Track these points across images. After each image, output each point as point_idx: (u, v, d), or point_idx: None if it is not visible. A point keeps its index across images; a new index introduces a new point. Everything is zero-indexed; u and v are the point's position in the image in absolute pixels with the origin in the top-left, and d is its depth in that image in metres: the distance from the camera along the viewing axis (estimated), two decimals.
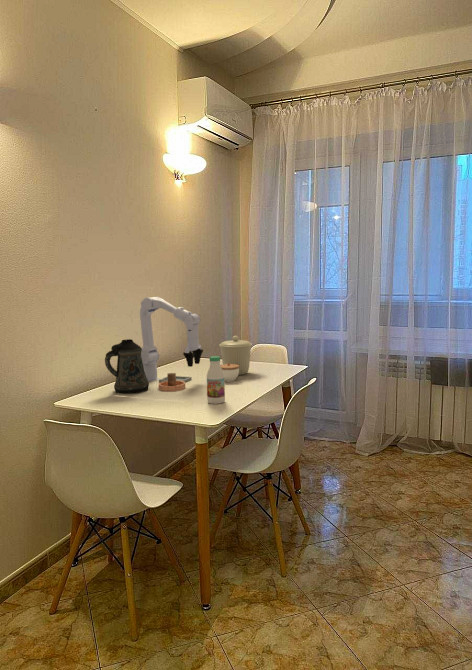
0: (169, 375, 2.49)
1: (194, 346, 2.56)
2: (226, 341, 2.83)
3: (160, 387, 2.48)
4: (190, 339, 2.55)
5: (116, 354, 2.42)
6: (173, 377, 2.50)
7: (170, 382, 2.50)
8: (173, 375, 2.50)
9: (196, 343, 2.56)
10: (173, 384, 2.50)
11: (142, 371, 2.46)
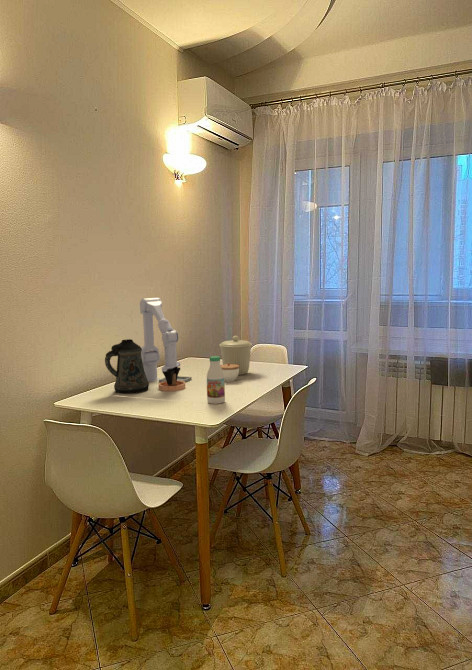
0: None
1: (172, 364, 2.48)
2: (226, 341, 2.83)
3: (160, 387, 2.48)
4: (168, 357, 2.47)
5: (116, 354, 2.42)
6: (173, 377, 2.50)
7: None
8: (173, 375, 2.50)
9: (174, 361, 2.48)
10: (173, 384, 2.50)
11: (142, 371, 2.46)
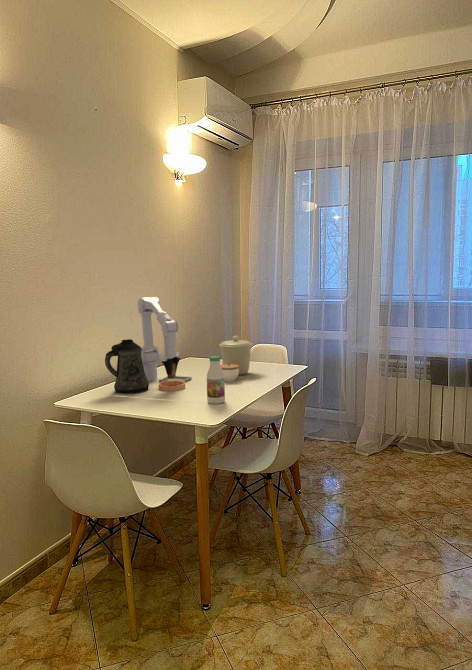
0: None
1: (171, 354, 2.47)
2: (226, 341, 2.83)
3: (160, 387, 2.48)
4: (167, 347, 2.47)
5: (116, 354, 2.42)
6: (173, 367, 2.49)
7: None
8: (173, 365, 2.49)
9: (173, 351, 2.48)
10: (173, 374, 2.49)
11: (142, 371, 2.46)
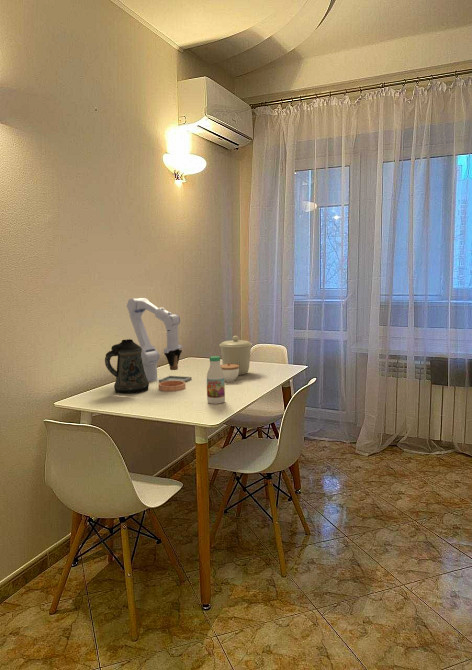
0: None
1: (173, 346, 2.58)
2: (226, 341, 2.83)
3: (160, 387, 2.48)
4: (169, 339, 2.57)
5: (116, 354, 2.42)
6: (175, 359, 2.59)
7: None
8: (175, 357, 2.59)
9: (175, 343, 2.58)
10: (175, 366, 2.60)
11: (142, 371, 2.46)
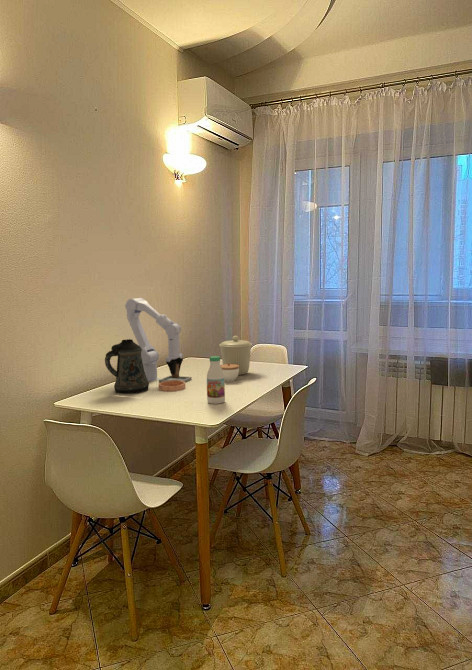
0: None
1: (175, 355, 2.63)
2: (226, 341, 2.83)
3: (160, 387, 2.48)
4: (171, 348, 2.62)
5: (116, 354, 2.42)
6: (176, 367, 2.64)
7: None
8: (176, 365, 2.64)
9: (177, 352, 2.63)
10: (176, 374, 2.65)
11: (142, 371, 2.46)
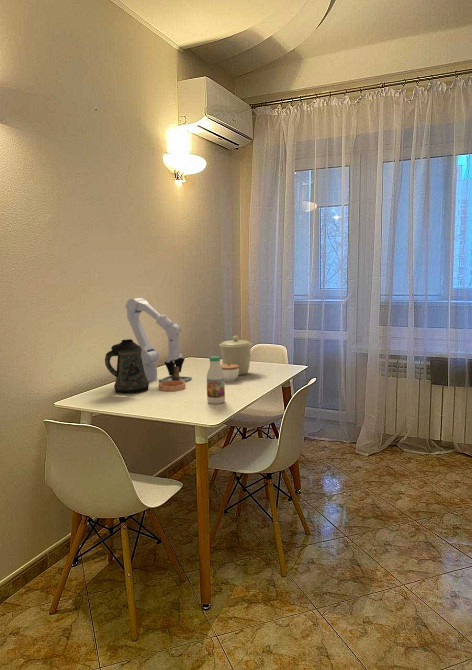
0: None
1: (175, 355, 2.63)
2: (226, 341, 2.83)
3: (160, 387, 2.48)
4: (171, 349, 2.62)
5: (116, 354, 2.42)
6: (176, 370, 2.65)
7: (174, 375, 2.65)
8: (176, 368, 2.65)
9: (177, 352, 2.63)
10: (176, 377, 2.65)
11: (142, 371, 2.46)
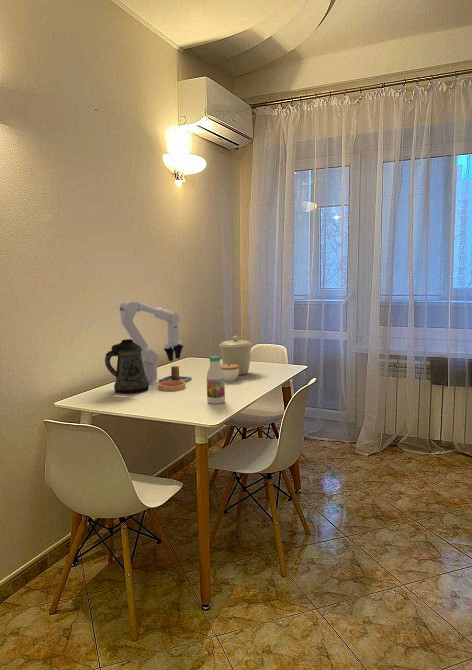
0: (173, 368, 2.64)
1: (174, 342, 2.76)
2: (226, 341, 2.83)
3: (160, 387, 2.48)
4: (170, 335, 2.75)
5: (116, 354, 2.42)
6: (176, 370, 2.65)
7: (174, 375, 2.65)
8: (176, 368, 2.65)
9: (176, 339, 2.76)
10: (176, 377, 2.65)
11: (142, 371, 2.46)
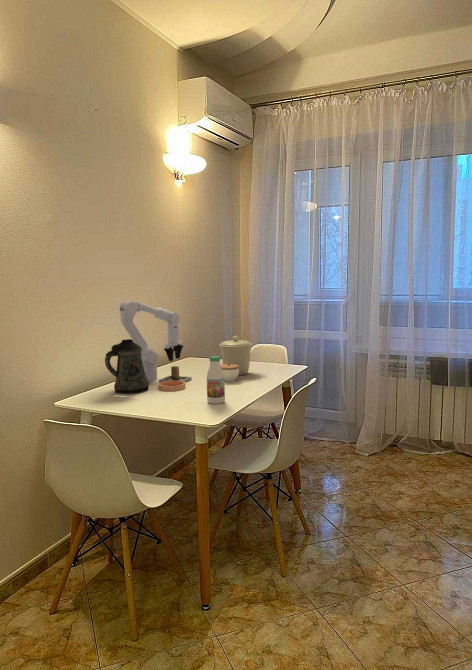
0: (173, 368, 2.64)
1: (174, 342, 2.76)
2: (226, 341, 2.83)
3: (160, 387, 2.48)
4: (170, 335, 2.75)
5: (116, 354, 2.42)
6: (176, 370, 2.65)
7: (174, 375, 2.65)
8: (176, 368, 2.65)
9: (176, 339, 2.76)
10: (176, 377, 2.65)
11: (142, 371, 2.46)
